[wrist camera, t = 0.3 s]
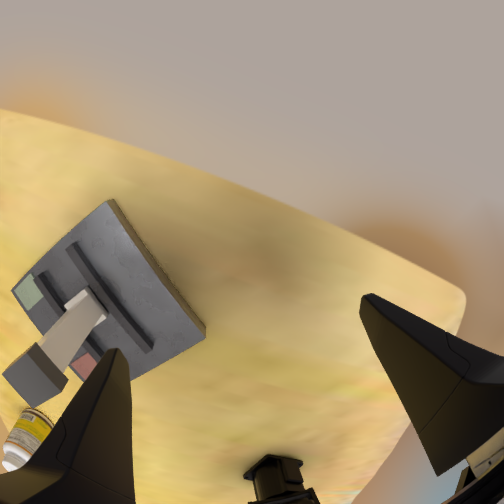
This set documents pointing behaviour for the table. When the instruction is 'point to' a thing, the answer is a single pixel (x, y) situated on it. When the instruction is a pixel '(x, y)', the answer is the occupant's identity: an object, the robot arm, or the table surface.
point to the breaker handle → (55, 351)
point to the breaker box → (111, 294)
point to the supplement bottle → (25, 438)
